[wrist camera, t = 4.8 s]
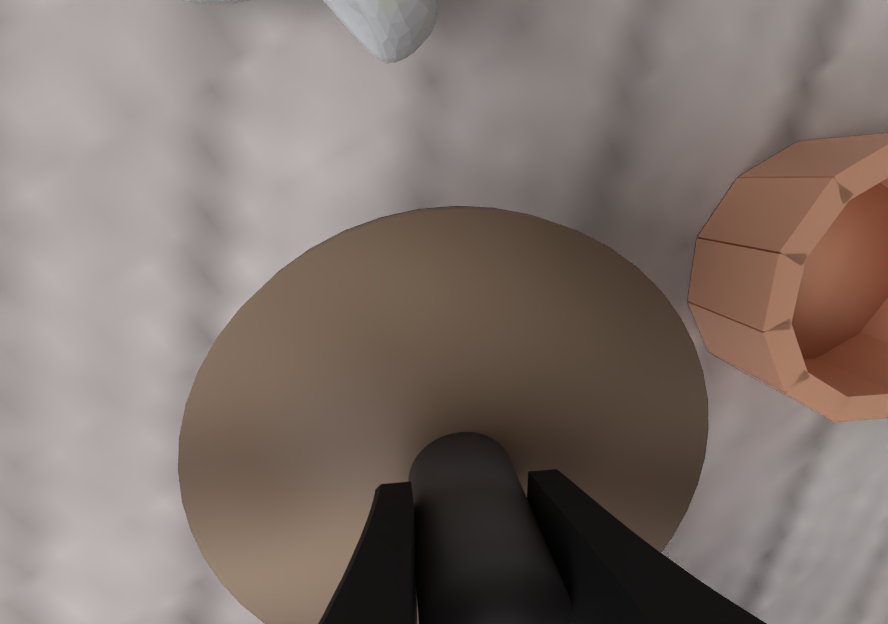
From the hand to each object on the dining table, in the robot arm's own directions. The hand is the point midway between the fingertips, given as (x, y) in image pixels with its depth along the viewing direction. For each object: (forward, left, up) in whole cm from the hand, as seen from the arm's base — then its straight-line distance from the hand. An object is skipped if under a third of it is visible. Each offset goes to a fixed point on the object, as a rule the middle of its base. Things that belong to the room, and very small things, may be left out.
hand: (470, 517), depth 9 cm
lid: (0, 0, -2) cm, 2 cm away
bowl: (+3, -16, -9) cm, 19 cm away
